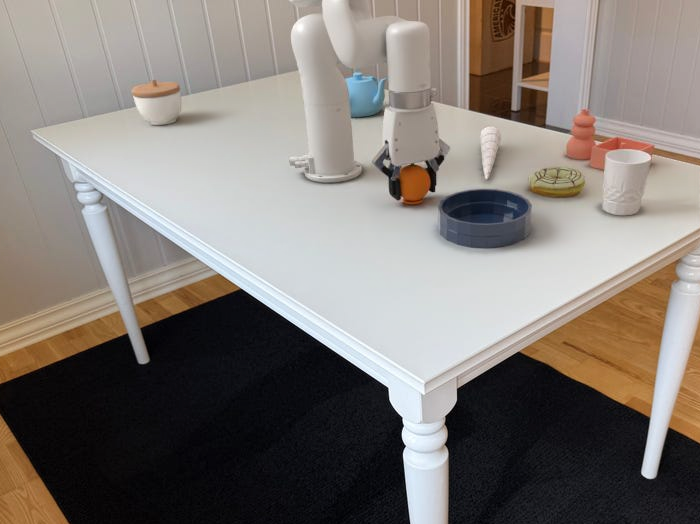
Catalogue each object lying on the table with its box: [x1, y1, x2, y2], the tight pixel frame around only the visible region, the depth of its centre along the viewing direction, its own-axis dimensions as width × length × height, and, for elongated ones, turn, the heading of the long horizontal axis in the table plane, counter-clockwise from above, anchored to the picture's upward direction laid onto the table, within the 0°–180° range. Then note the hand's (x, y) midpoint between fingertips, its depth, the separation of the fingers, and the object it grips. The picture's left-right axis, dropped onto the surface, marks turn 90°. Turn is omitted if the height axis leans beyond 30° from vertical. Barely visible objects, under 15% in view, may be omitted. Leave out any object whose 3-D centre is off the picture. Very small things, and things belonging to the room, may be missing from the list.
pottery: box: [565, 108, 655, 171], centre depth 147 cm, size 18×10×10 cm, turn 43°
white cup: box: [601, 149, 652, 216], centre depth 125 cm, size 8×8×10 cm
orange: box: [398, 163, 431, 205], centre depth 131 cm, size 7×7×7 cm
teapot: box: [344, 71, 388, 118], centre depth 186 cm, size 15×15×10 cm
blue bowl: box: [437, 188, 533, 249], centre depth 121 cm, size 16×16×5 cm
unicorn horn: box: [479, 126, 502, 180], centre depth 150 cm, size 5×24×5 cm, turn 168°
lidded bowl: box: [130, 78, 183, 126], centre depth 186 cm, size 13×13×11 cm
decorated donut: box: [528, 166, 586, 199], centre depth 135 cm, size 10×11×4 cm
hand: (413, 193), depth 132 cm, fingers closed on orange, 6 cm apart
